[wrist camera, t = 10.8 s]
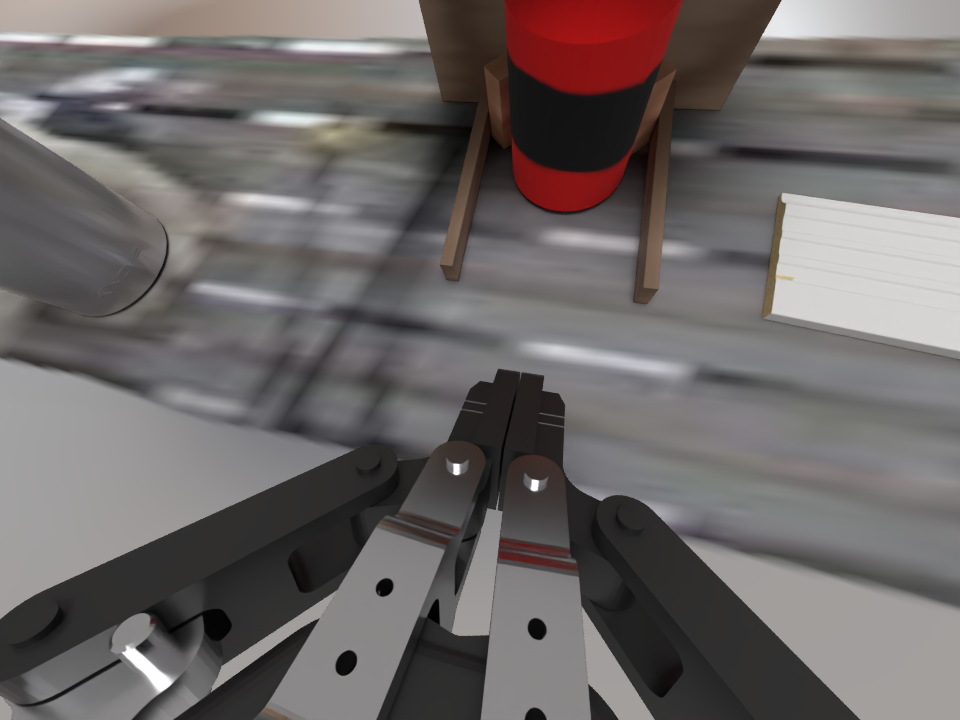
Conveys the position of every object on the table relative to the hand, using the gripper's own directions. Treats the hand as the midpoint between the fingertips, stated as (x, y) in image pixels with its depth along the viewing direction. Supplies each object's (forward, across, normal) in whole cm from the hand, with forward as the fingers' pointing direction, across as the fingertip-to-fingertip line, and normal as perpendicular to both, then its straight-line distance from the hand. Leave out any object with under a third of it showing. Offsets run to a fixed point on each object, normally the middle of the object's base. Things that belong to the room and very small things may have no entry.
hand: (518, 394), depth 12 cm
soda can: (+20, 0, -6) cm, 20 cm away
